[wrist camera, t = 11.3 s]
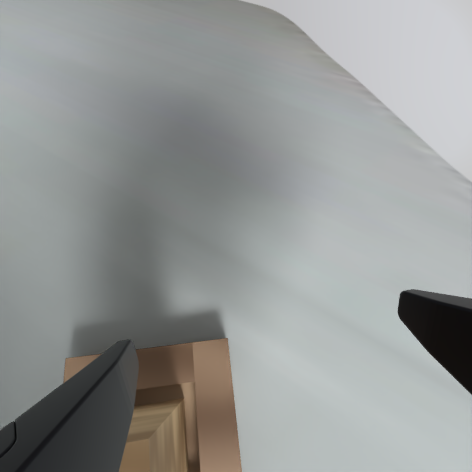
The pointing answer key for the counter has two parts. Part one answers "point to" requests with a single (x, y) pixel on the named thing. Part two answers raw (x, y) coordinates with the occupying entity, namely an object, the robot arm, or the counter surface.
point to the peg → (157, 439)
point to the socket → (190, 397)
